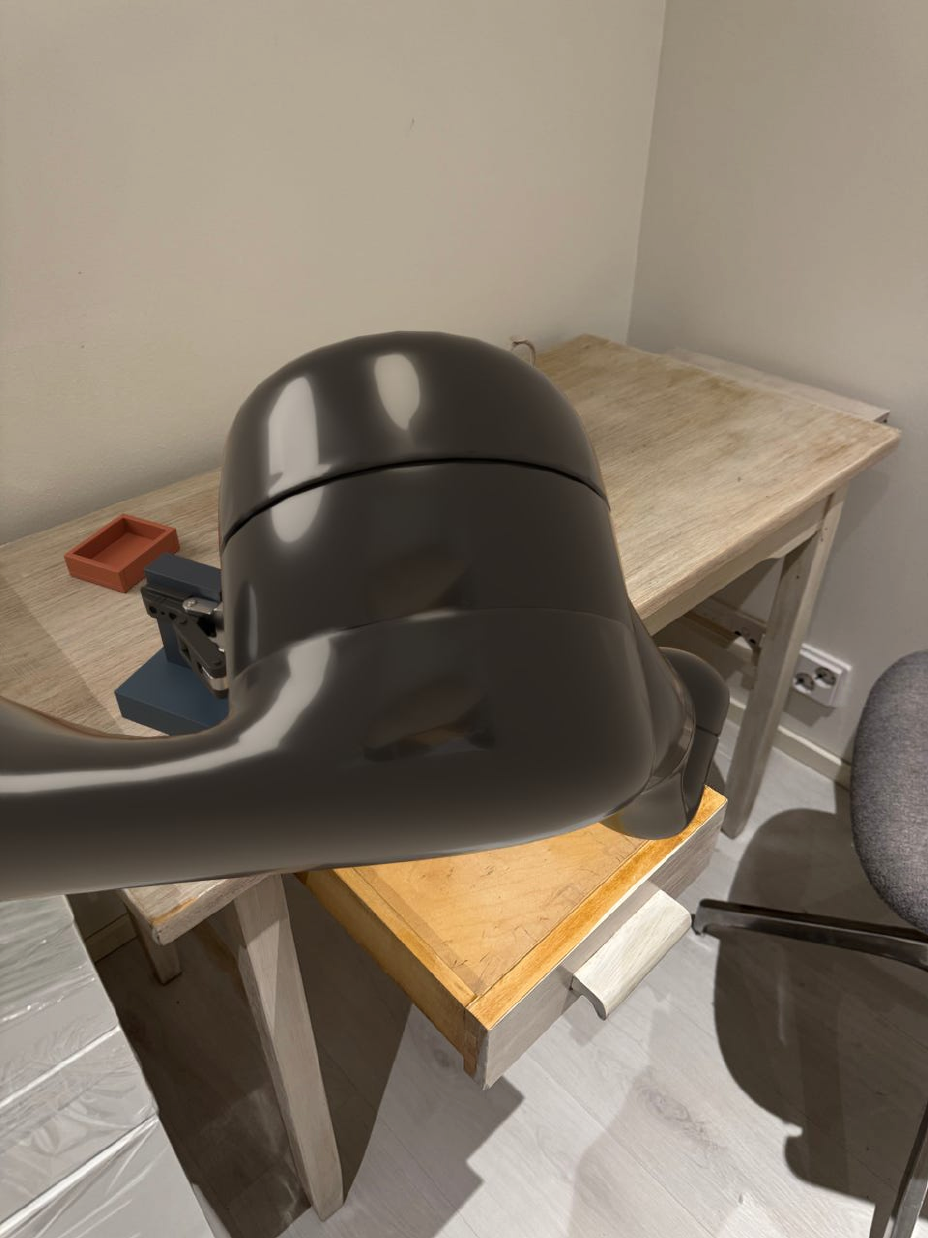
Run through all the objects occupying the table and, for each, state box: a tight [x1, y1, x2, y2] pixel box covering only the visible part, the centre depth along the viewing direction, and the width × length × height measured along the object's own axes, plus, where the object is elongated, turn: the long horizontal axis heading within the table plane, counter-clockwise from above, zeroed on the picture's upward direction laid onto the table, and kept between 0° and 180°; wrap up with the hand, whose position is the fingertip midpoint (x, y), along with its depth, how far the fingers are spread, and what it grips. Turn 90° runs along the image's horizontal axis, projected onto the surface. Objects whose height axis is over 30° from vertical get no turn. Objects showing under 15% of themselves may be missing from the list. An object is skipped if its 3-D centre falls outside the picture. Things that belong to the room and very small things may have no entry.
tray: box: [63, 512, 181, 594], centre depth 86 cm, size 8×7×2 cm
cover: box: [113, 552, 228, 736], centre depth 61 cm, size 10×9×10 cm
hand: (160, 584), depth 60 cm, fingers closed on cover
